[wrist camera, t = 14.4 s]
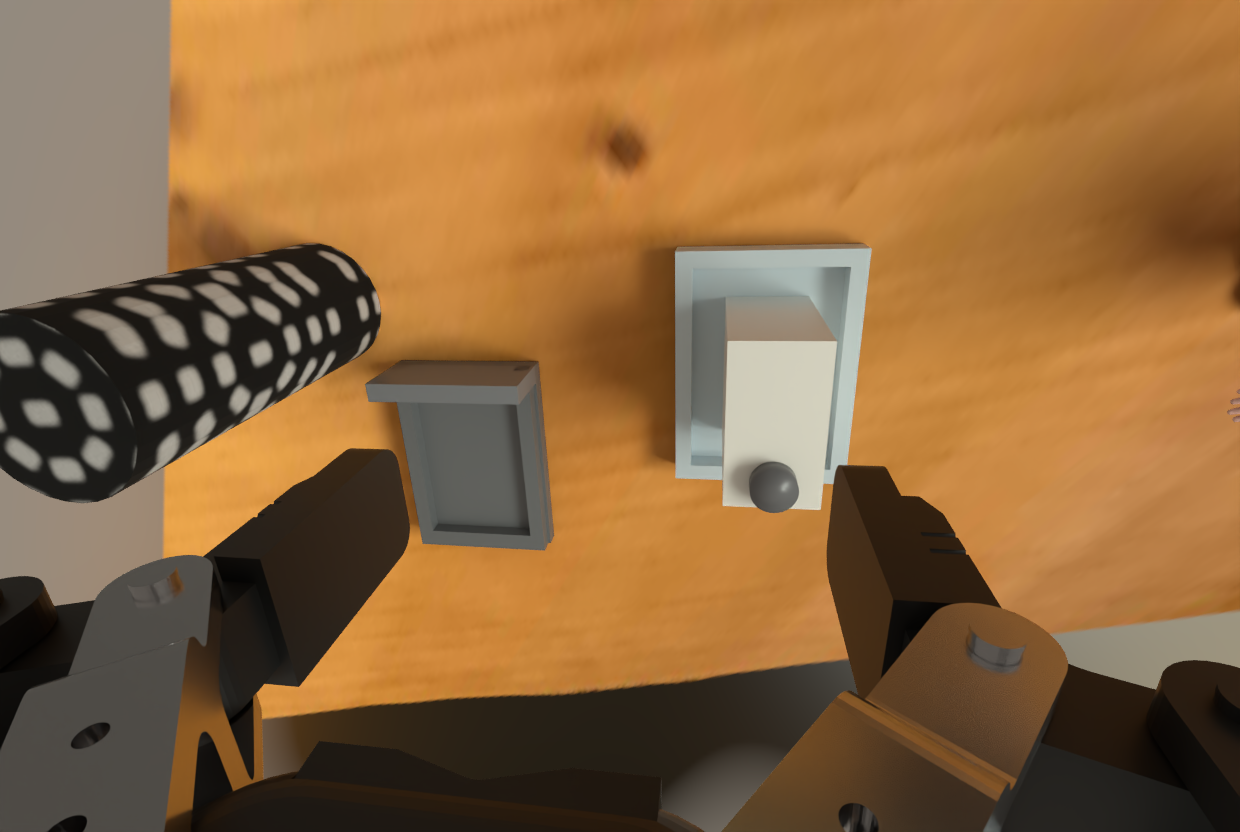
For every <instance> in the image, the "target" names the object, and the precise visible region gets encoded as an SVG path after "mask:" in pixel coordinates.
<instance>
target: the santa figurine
mask: <svg viewBox="0 0 1240 832" xmlns="http://www.w3.org/2000/svg"><path fill="white" fill-rule="evenodd" d="M1237 393H1238V394H1240V389H1239V390H1237ZM1230 403H1231V404H1240V398H1236V399H1232V400H1231V401H1230ZM1227 413H1228V414H1229V415H1232V414H1240V407H1238V408H1233V409H1230V410H1228V411H1227ZM1232 420H1233V421H1234V422H1239V421H1240V416H1236V417H1234V418H1233V419H1232Z"/></svg>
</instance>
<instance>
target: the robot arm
mask: <svg viewBox="0 0 1240 832" xmlns="http://www.w3.org/2000/svg"><path fill="white" fill-rule="evenodd" d="M409 533H410V523H409V517H408V512H407V507H406V501H405V496H404V491H403V486H402V481H401V475H400V470H399V465H398V461H397V458H396V456H395V454H394V453H393V452H392V451H391V450H385V449H354V448H352V449H348V450H346V451H345V452H343V453H342V454H341V455H340V456H338V457H337V458H336V459H334V460H333V461H332V462H331V463H329V464H328V465H327V466H326V467H324V468H323V469H322V470H321V471H319V472H318V473H317V474H316V475H314V476H313V477H311V478H309V479H307V480H304V481H302V482H300V483H298V484H296V485H294V486H293V487H291V488H290V489H289V490H287V491H286V492H285V493H284V494H282V495H281V496H280V497H279V498H277V499H276V500H275V501H274V504H270V505H268V506H267V507H266V508H265V509H263V510H262V511H261V512H259V513H258V517H253V518H252V519H251V520H249V521H248V522H247V523H245V524H244V525H243V526H242V527H240V528H239V529H238V530H236V531H235V532H234V533H233V534H231V535H230V536H229V537H228V538H226V539H225V540H224V541H222V542H221V543H220V544H219V545H217V546H216V547H215V548H214V549H212V550H211V551H210V552H208V553H207V554H206V555H205V556H203V557H202V556H196V555H183V556H175V557H169V558H165V559H160V560H157V561H154V562H151V563H148V564H145V565H142V566H140V567H138V568H135V569H133V570H131V571H129V572H127V573H126V574H123V575H122V576H120V577H118V578H117V579H115V580H114V581H112V582H111V583H110V584H108V585H107V586H106V587H105V588H104V589H103V590H102V591H101V592H100V593H99V594H98V596H97V597H96V599H95V600H94V601H87V602H80V603H73V604H66V605H59V606H54V605H53V603H52V601H51V599H50V597H49V595H48V592H47V590H46V588H45V586H44V584H43V582H42V581H41V580H40V579H38V578H35V577H29V576H18V577H10V578H4V579H0V832H704V831H703V830H701V829H700V828H699V827H697V826H695V825H693V824H691V823H689V822H688V821H686V820H684V819H682V818H680V817H679V816H676V815H674V814H671V813H669V812H666V811H664V810H662V797H661V796H662V794H661V793H662V791H661V778H660V777H651V776H642V775H633V774H624V773H614V772H604V771H595V770H586V769H576V768H569V769H560V770H553V771H545V772H538V773H530V774H523V775H515V776H507V777H500V778H492V779H484V780H475V779H470V778H466V777H464V776H462V775H459V774H457V773H454V772H452V771H449V770H447V769H445V768H442V767H440V766H437V765H435V764H432V763H430V762H427V761H425V760H422V759H420V758H418V757H415V756H412V755H410V754H408V753H405V752H403V751H400V750H397V749H389V748H379V747H370V746H360V745H351V744H342V743H331V742H322V741H319V742H318V744H317V745H316V747H315V748H314V750H313V751H312V752H311V754H310V755H309V757H308V758H307V760H306V761H305V763H304V765H303V766H302V768H301V769H300V770H299V771H298V772H291V773H287V774H282V775H279V776H275V777H270V778H267V779H264V780H263V749H262V748H263V745H262V710H261V705H260V702H259V699H258V696H257V694H256V693H257V692H258V691H259V689H260V688H261V687H262V686H263V685H264V684H274V685H285V686H296V687H299V686H300V685H301V684H302V682H303V681H304V680H305V679H306V677H307V676H308V675H309V673H310V672H311V671H312V670H313V668H314V667H315V666H316V665H317V663H318V662H319V661H320V659H321V658H322V657H323V656H324V654H325V653H326V652H327V651H328V649H329V648H330V647H331V645H332V644H333V643H334V642H335V640H336V639H337V638H338V637H339V635H340V634H341V633H342V631H343V630H344V629H345V628H346V626H347V625H348V624H349V623H350V621H351V620H352V619H353V617H354V616H355V615H356V614H357V612H358V611H359V610H360V609H361V607H362V606H363V605H364V603H365V602H366V601H367V600H368V598H369V597H370V596H371V595H372V593H373V592H374V591H375V589H376V588H377V587H378V586H379V584H380V583H381V582H382V581H383V579H384V578H385V577H386V575H387V574H388V573H389V572H390V570H391V569H392V568H393V567H394V565H395V564H396V563H397V561H398V560H399V559H400V558H401V556H402V555H403V553H404V551H405V549H406V547H407V544H408V540H409ZM827 571H828V578H829V583H830V587H831V591H832V595H833V599H834V602H835V606H836V610H837V614H838V618H839V622H840V626H841V630H842V634H843V637H844V641H845V645H846V649H847V653H848V657H849V661H850V665H851V669H852V672H853V676H854V680H855V684H856V688H857V692H858V695H857V694H855V693H854V692H852V691H845V692H843V693H841V694H840V695H839V696H838V697H836V699H835V700H834V701H833V702H832V703H831V704H830V705H829V706H828V707H827V709H826V710H825V711H824V712H823V714H822V715H821V716H820V717H819V718H818V719H817V720H816V722H815V723H814V724H813V725H812V726H811V727H810V729H809V730H808V731H807V732H806V733H805V735H804V736H803V737H802V738H801V739H800V740H799V742H798V743H797V744H796V745H795V746H794V747H793V748H792V750H791V751H790V752H789V753H788V755H787V756H786V757H785V758H784V759H783V760H782V761H781V762H780V764H779V765H778V766H777V767H776V769H775V770H774V771H773V772H772V773H771V774H770V775H769V777H768V778H767V779H766V780H765V781H764V782H763V784H762V785H761V786H760V787H759V788H758V789H757V791H756V792H755V793H754V794H753V795H752V796H751V798H750V799H749V800H748V801H747V802H746V804H745V805H744V806H743V807H742V808H741V809H740V810H739V812H738V813H737V814H736V815H735V816H734V818H733V819H732V820H731V821H730V822H729V823H728V825H727V826H726V827H725V828H724V829H723V830H722V832H1240V668H1238V667H1234V666H1230V665H1226V664H1222V663H1216V662H1210V661H1198V660H1193V661H1182V662H1178V663H1174V664H1172V665H1171V666H1169V667H1167V668H1166V669H1165V670H1164V671H1163V673H1162V676H1161V679H1160V681H1159V684H1158V687H1157V689H1156V690H1155V689H1151V688H1147V687H1144V686H1140V685H1137V684H1133V683H1129V682H1126V681H1122V680H1118V679H1114V678H1111V677H1108V676H1104V675H1100V674H1097V673H1093V672H1090V671H1087V670H1084V669H1081V668H1078V667H1075V666H1073V665H1070V664H1068V661H1067V658H1066V655H1065V652H1064V651H1063V649H1062V648H1061V646H1060V645H1059V643H1058V642H1057V641H1056V640H1055V639H1054V638H1053V637H1052V636H1051V635H1050V634H1049V633H1047V632H1046V631H1045V630H1044V629H1042V628H1041V627H1040V626H1038V625H1037V624H1035V623H1033V622H1032V621H1030V620H1028V619H1026V618H1025V617H1022V616H1020V615H1018V614H1016V613H1013V612H1011V611H1008V610H1005V609H1002V608H1001V606H1000V605H999V603H998V602H997V600H996V598H995V597H994V595H993V593H992V592H991V590H990V589H989V587H988V585H987V584H986V582H985V581H984V579H983V577H982V576H981V574H980V573H979V571H978V569H977V568H976V566H975V564H974V563H973V561H972V560H971V558H970V556H969V555H966V550H965V548H964V547H963V545H962V543H961V542H960V540H959V539H958V538H956V537H955V532H954V531H953V529H952V527H951V526H950V524H949V523H948V521H947V519H946V518H945V516H944V514H943V513H941V512H940V511H938V510H937V509H936V508H934V507H933V506H931V505H930V504H929V503H927V502H926V501H925V500H923V499H922V498H920V497H916V496H901V495H900V493H899V491H898V489H897V487H896V485H895V483H894V482H893V480H892V478H891V476H890V474H889V472H888V470H887V469H886V467H884V466H857V465H838V466H837V468H836V471H835V476H834V484H833V494H832V503H831V513H830V522H829V531H828V541H827Z"/></svg>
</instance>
